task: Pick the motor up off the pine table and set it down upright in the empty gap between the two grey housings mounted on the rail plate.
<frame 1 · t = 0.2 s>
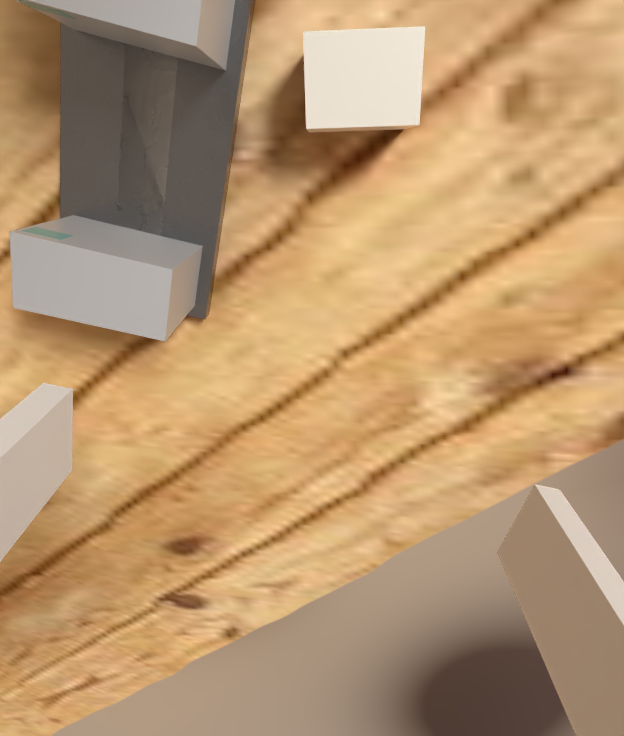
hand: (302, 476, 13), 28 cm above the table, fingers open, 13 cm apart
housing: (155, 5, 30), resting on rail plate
rail plate: (151, 147, 35), on the table
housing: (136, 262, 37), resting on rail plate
loose relay: (356, 91, 33), on the table
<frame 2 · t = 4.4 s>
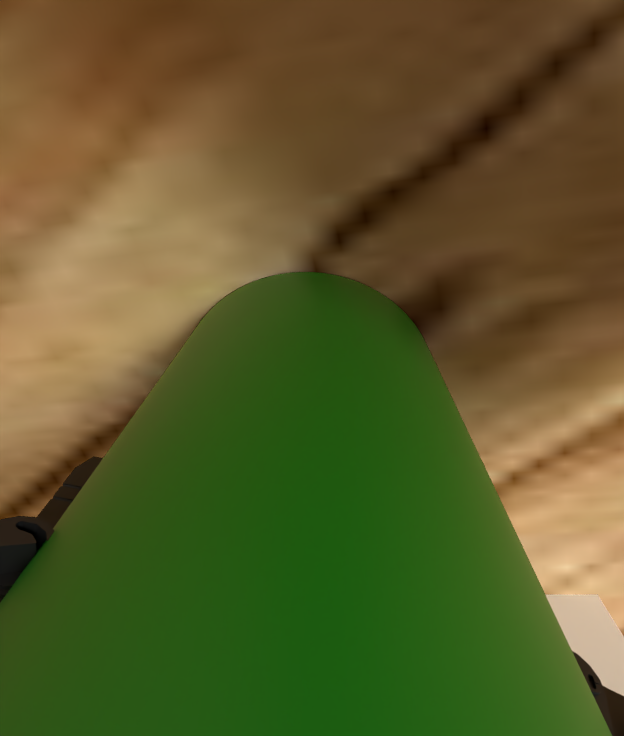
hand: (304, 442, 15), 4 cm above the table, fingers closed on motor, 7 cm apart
loose relay: (518, 626, 24), on the table
motor: (307, 381, 18), on the table, touching gripper
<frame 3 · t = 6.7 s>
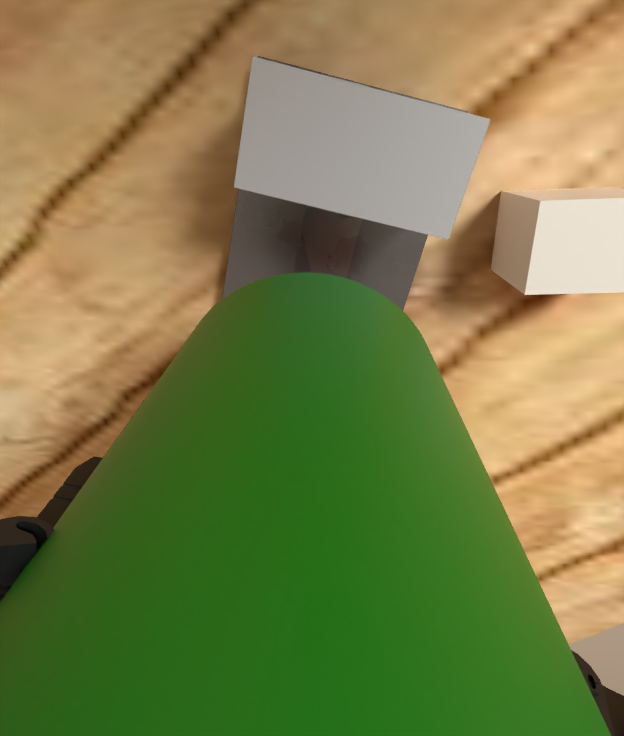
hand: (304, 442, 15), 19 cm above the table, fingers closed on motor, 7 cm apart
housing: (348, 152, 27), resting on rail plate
rail plate: (316, 284, 32), on the table
loose relay: (549, 229, 30), on the table
motor: (307, 381, 18), point 15 cm above the table, touching gripper
when the fingers open (7 cm above the table, at t = 9.2 s): motor drops 2 cm, resting on rail plate.
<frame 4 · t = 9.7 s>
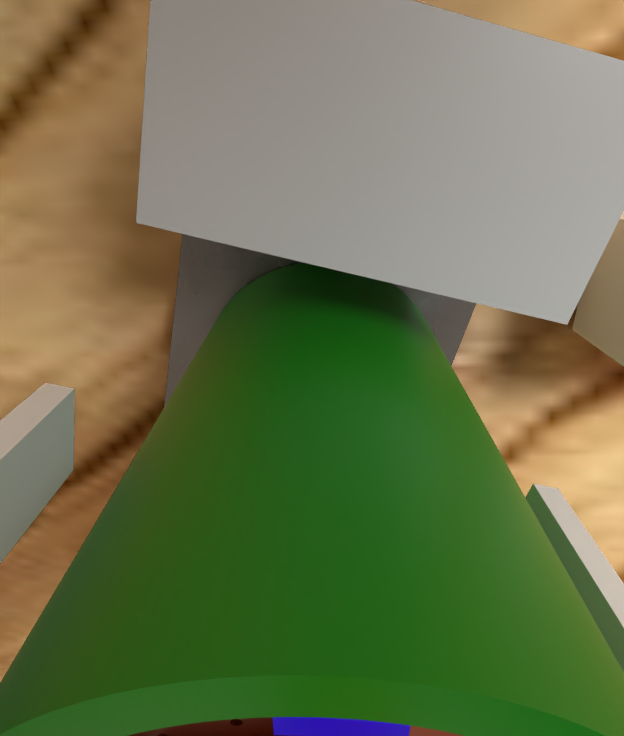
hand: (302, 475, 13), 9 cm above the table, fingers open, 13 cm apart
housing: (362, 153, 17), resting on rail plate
rail plate: (310, 349, 21), on the table
motor: (320, 362, 20), point 1 cm above the table, touching rail plate
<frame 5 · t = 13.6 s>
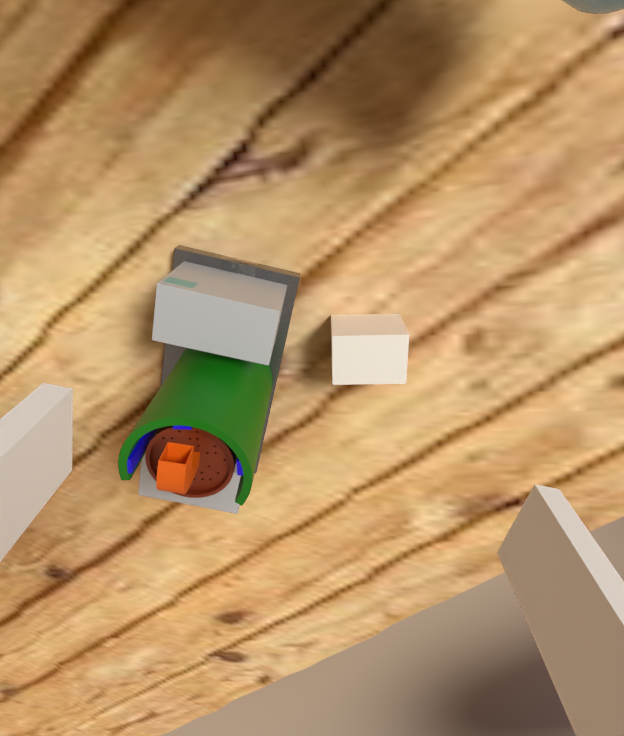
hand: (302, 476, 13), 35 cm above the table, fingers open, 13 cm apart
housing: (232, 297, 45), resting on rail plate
rail plate: (222, 367, 50), on the table
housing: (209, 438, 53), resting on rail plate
loose relay: (364, 336, 49), on the table
motor: (224, 373, 49), point 1 cm above the table, touching rail plate
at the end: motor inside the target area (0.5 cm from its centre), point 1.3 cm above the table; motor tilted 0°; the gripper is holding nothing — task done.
